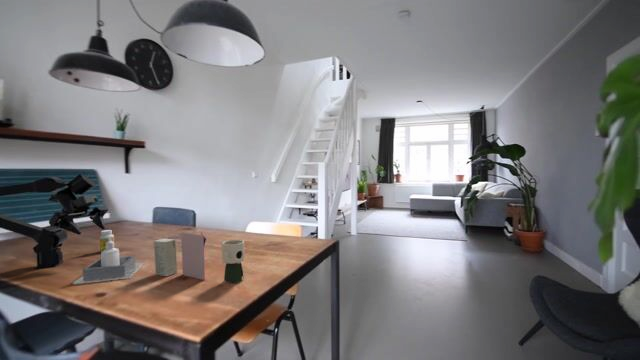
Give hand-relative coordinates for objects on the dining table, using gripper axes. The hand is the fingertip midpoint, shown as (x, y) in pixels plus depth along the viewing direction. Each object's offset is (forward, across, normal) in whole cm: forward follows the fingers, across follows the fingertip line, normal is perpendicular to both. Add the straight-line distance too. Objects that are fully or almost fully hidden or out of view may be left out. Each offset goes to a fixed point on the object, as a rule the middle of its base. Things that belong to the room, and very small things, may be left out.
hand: (92, 231), depth 111 cm
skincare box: (+34, -1, -15) cm, 37 cm away
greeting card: (+42, -1, -23) cm, 48 cm away
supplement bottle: (-1, +18, +20) cm, 27 cm away
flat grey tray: (+20, -5, -1) cm, 21 cm away
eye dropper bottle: (+20, -5, -1) cm, 20 cm away
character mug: (+54, -2, -34) cm, 64 cm away
